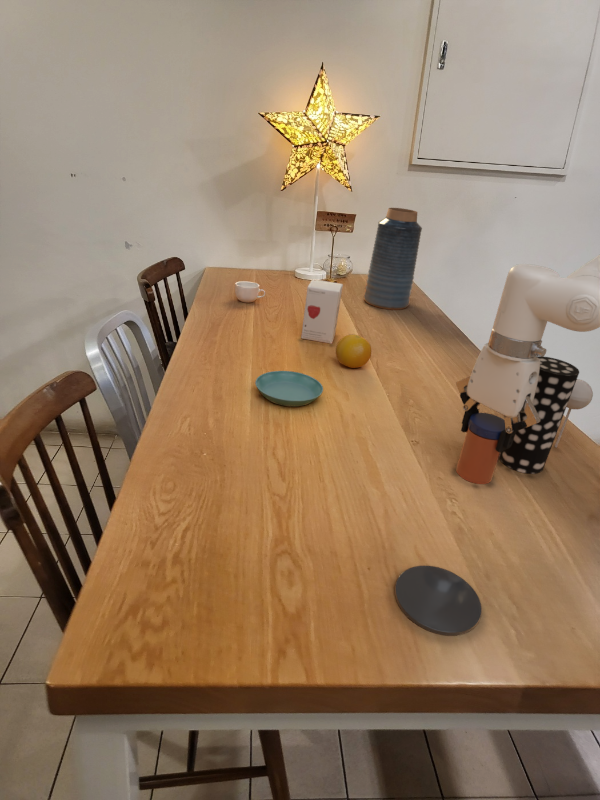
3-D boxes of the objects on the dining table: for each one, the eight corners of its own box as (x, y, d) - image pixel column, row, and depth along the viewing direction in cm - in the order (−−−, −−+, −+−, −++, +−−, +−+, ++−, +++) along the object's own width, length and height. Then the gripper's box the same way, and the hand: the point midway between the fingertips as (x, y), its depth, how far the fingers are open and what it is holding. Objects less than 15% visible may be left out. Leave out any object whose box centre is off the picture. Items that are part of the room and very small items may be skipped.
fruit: (353, 357, 142) (358, 328, 138) (374, 369, 136) (380, 339, 133) (327, 362, 137) (331, 332, 133) (348, 374, 131) (353, 344, 128)
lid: (502, 423, 96) (504, 415, 95) (510, 442, 90) (513, 434, 90) (465, 418, 96) (467, 410, 96) (471, 436, 91) (473, 428, 90)
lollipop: (541, 436, 113) (564, 371, 107) (571, 444, 111) (597, 379, 104) (539, 449, 108) (563, 381, 101) (570, 458, 106) (597, 390, 99)
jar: (488, 466, 100) (503, 418, 96) (495, 486, 94) (511, 436, 90) (453, 461, 101) (467, 413, 96) (458, 480, 95) (473, 431, 90)
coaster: (472, 576, 74) (473, 572, 74) (488, 643, 64) (489, 639, 64) (393, 562, 75) (394, 559, 75) (396, 626, 65) (397, 623, 65)
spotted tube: (498, 445, 108) (528, 352, 99) (542, 456, 106) (576, 362, 97) (497, 466, 101) (529, 368, 92) (544, 478, 98) (582, 379, 90)
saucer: (294, 419, 108) (295, 407, 107) (240, 393, 116) (240, 382, 115) (334, 397, 119) (336, 386, 118) (283, 375, 127) (284, 365, 126)
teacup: (231, 302, 173) (232, 285, 171) (237, 295, 180) (238, 279, 177) (262, 306, 172) (263, 290, 170) (266, 300, 179) (268, 284, 177)
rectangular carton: (300, 339, 150) (306, 286, 143) (305, 328, 158) (311, 278, 151) (332, 344, 149) (339, 291, 142) (336, 333, 157) (343, 283, 150)
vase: (402, 298, 199) (420, 209, 185) (413, 312, 185) (434, 216, 170) (359, 294, 197) (374, 204, 183) (367, 308, 183) (383, 211, 169)
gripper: (576, 360, 83) (540, 458, 91) (481, 324, 94) (457, 413, 102) (551, 368, 78) (516, 470, 86) (455, 329, 90) (432, 422, 98)
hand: (484, 438), depth 94 cm, fingers closed on lid, 6 cm apart
